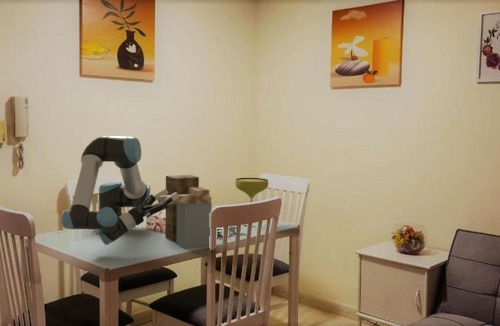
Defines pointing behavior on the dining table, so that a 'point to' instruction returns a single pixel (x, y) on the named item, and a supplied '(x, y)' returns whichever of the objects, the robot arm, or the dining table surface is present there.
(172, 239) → the tall walnut stand
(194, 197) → the ash mallet
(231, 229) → the l-shaped corner panel
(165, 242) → the dining table surface
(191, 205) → the grey rectangular block
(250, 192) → the cocktail glass
